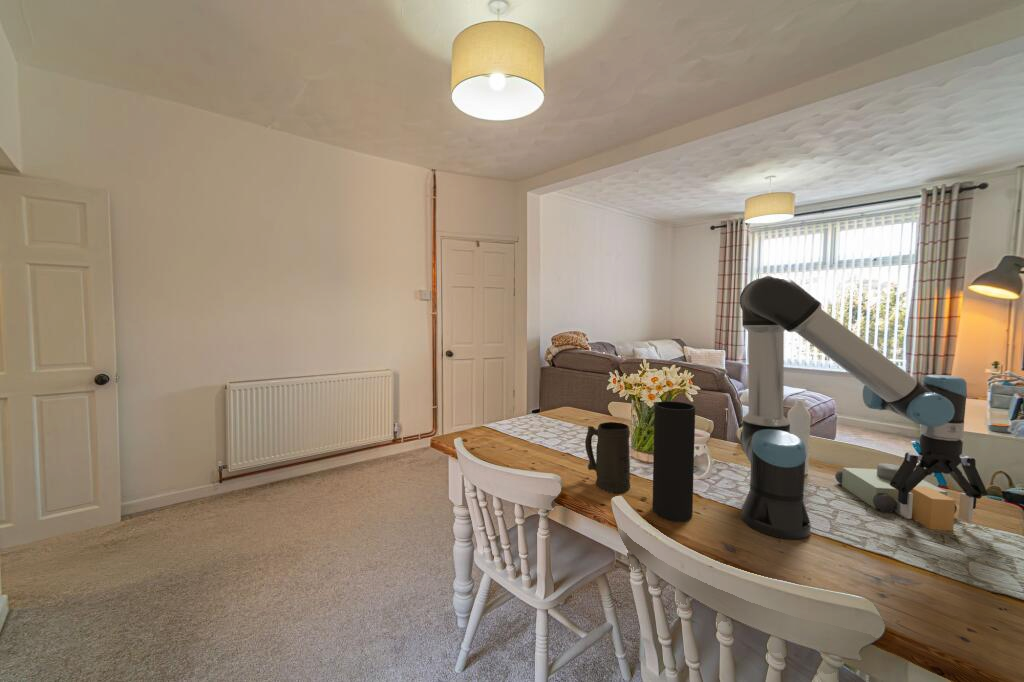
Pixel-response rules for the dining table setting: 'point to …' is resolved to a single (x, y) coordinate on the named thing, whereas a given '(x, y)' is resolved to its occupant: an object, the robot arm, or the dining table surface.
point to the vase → (673, 460)
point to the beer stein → (610, 456)
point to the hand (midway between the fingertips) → (935, 518)
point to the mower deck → (876, 486)
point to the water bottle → (801, 425)
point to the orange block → (932, 508)
